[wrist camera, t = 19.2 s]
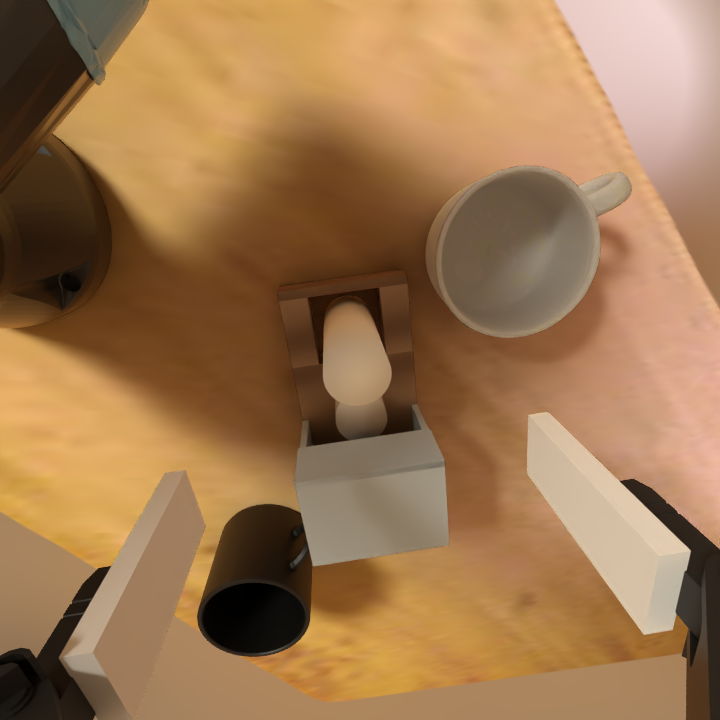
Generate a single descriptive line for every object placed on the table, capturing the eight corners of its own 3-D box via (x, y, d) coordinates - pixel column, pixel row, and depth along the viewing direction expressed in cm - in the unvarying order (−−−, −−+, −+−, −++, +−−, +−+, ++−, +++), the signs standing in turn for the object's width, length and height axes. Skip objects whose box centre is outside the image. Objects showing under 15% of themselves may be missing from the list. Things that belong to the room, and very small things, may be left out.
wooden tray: (280, 285, 34) (271, 303, 28) (401, 269, 34) (416, 283, 28) (318, 479, 41) (317, 524, 35) (417, 464, 41) (432, 506, 36)
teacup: (437, 328, 36) (466, 362, 29) (393, 206, 32) (414, 209, 25) (590, 265, 35) (662, 283, 27) (565, 130, 31) (641, 109, 24)
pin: (327, 343, 36) (328, 410, 25) (320, 298, 34) (318, 347, 23) (373, 337, 36) (394, 401, 25) (368, 292, 34) (388, 338, 23)
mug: (348, 520, 43) (354, 598, 35) (272, 584, 46) (260, 671, 37) (280, 470, 40) (268, 542, 32) (203, 541, 43) (172, 626, 34)
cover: (301, 415, 35) (294, 482, 27) (416, 398, 35) (444, 460, 27) (315, 486, 38) (313, 566, 30) (422, 470, 38) (449, 545, 30)
